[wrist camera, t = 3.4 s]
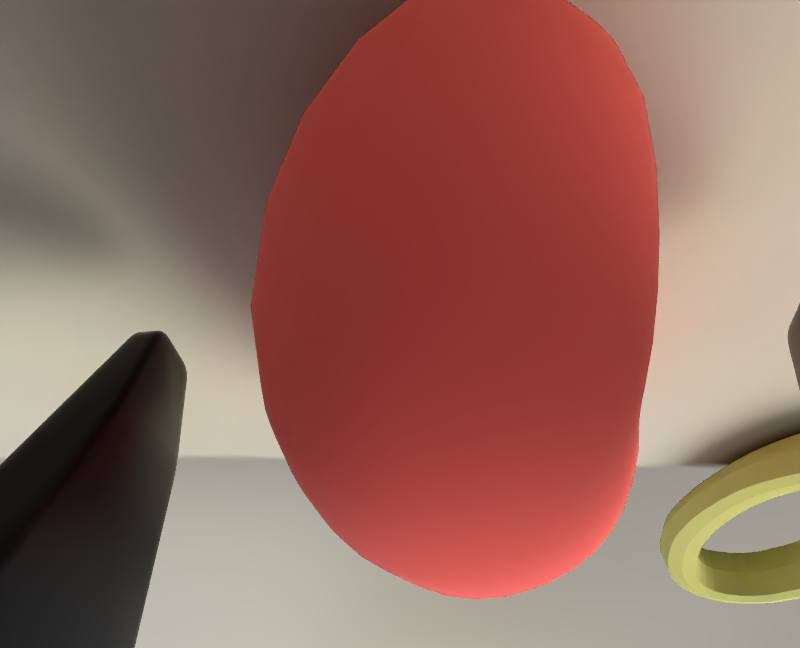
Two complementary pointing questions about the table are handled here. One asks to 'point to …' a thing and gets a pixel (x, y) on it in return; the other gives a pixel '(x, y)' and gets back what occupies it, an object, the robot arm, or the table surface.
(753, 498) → the key
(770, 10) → the table surface
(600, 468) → the red bean-shaped piece
